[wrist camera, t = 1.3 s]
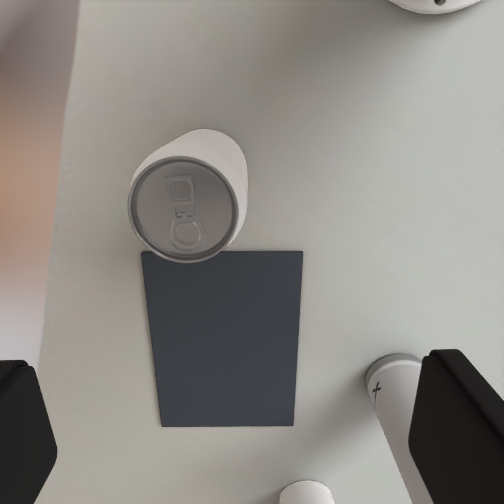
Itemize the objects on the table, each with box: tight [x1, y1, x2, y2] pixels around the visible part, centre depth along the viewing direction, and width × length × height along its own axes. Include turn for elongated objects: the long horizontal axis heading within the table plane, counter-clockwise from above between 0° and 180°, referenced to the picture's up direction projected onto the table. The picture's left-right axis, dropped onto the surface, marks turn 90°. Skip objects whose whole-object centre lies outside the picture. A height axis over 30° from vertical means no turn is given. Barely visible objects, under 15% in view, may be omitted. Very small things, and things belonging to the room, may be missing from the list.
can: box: [128, 129, 248, 263], centre depth 24 cm, size 6×6×12 cm
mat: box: [141, 251, 303, 427], centre depth 36 cm, size 20×14×1 cm
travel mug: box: [365, 354, 434, 504], centre depth 29 cm, size 6×7×20 cm
